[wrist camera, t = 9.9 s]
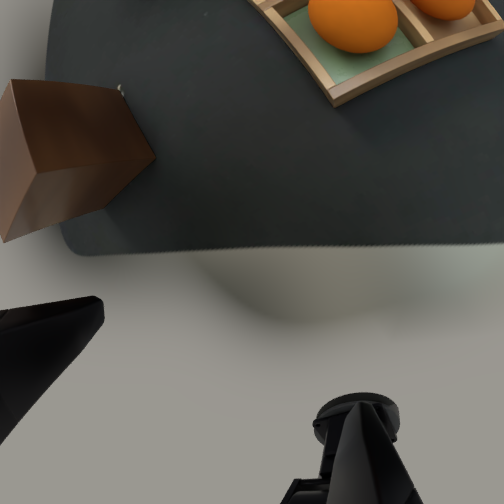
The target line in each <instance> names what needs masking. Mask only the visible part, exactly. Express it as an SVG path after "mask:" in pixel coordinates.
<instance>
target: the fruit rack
mask: <svg viewBox="0 0 504 504" xmlns="http://www.w3.org/2000/svg"><path fill="white" fill-rule="evenodd" d="M247 1H248V2H249V3H250V4H251V5H252V6H253V7H254V8H255V9H256V10H257V11H258V12H259V13H260V14H261V15H262V16H263V18H264V19H265V20H266V21H267V22H268V23H269V24H270V25H271V26H272V28H273V29H274V30H275V31H276V32H277V33H278V34H279V36H280V37H281V38H282V39H283V40H284V42H285V43H286V44H287V45H288V46H289V48H290V49H291V50H292V51H293V53H294V54H295V55H296V56H297V58H298V59H299V60H300V61H301V63H302V64H303V65H304V67H305V68H306V69H307V71H308V72H309V73H310V75H311V76H312V77H313V79H314V80H315V81H316V83H317V84H318V86H319V87H320V88H321V90H322V91H323V93H324V94H325V96H326V97H327V99H328V100H329V102H330V103H331V105H332V106H333V107H334V108H336V107H338V106H340V105H342V104H344V103H345V102H347V101H349V100H351V99H353V98H355V97H357V96H359V95H361V94H363V93H365V92H367V91H369V90H371V89H373V88H375V87H377V86H379V85H381V84H383V83H385V82H387V81H389V80H391V79H393V78H396V77H398V76H400V75H402V74H404V73H406V72H409V71H411V70H413V69H415V68H418V67H420V66H422V65H425V64H427V63H429V62H432V61H434V60H437V59H439V58H441V57H444V56H446V55H449V54H452V53H454V52H457V51H459V50H462V49H465V48H467V47H470V46H473V45H476V44H479V43H482V42H485V41H488V40H491V39H493V38H494V37H496V36H497V35H498V34H500V33H501V32H503V31H504V21H503V20H502V18H501V17H500V16H499V14H498V13H497V12H496V10H495V9H494V8H493V6H492V5H491V4H490V3H489V1H488V0H475V4H474V7H473V9H472V11H471V12H470V14H468V15H467V16H466V17H464V18H462V19H459V20H454V21H448V20H441V19H437V18H434V17H432V16H430V15H428V14H426V13H424V12H422V11H421V10H420V9H418V8H417V7H416V6H415V5H414V4H413V3H412V2H411V1H410V0H392V2H393V4H394V6H395V8H396V11H397V16H398V26H397V30H396V33H395V35H394V37H393V38H392V40H391V41H390V42H389V43H388V44H387V45H385V46H384V47H382V48H381V49H379V50H376V51H373V52H368V53H351V52H347V51H343V50H340V49H338V48H336V47H334V46H332V45H330V44H329V43H328V42H326V41H325V40H324V39H323V38H322V37H321V36H320V35H319V34H318V33H317V32H316V30H315V29H314V27H313V25H312V24H311V21H310V18H309V14H308V4H309V0H247Z"/></svg>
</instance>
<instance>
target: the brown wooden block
mask: <svg viewBox="0 0 504 504" xmlns="http://www.w3.org/2000/svg"><path fill="white" fill-rule="evenodd" d="M155 159H156V157H155V155H154V153H153V152H152V150H151V148H150V146H149V144H148V143H147V141H146V139H145V137H144V135H143V134H142V132H141V130H140V128H139V126H138V124H137V123H136V121H135V119H134V117H133V115H132V113H131V112H130V110H129V108H128V106H127V104H126V102H125V100H124V99H123V97H122V95H121V93H120V91H119V90H115V89H109V88H103V87H97V86H90V85H82V84H74V83H65V82H55V81H41V80H20V79H11V80H10V81H9V83H8V85H7V87H6V89H5V91H4V93H3V96H2V98H1V100H0V235H1V238H2V240H3V243H6V242H8V241H11V240H13V239H16V238H18V237H21V236H23V235H26V234H29V233H31V232H34V231H37V230H40V229H42V228H45V227H48V226H51V225H53V224H57V223H60V222H62V221H65V220H68V219H71V218H74V217H78V216H81V215H84V214H87V213H90V212H93V211H97V210H100V209H103V208H104V207H105V206H106V205H107V204H108V203H109V202H110V201H111V200H112V199H113V198H114V197H115V196H116V195H117V194H118V193H119V192H120V191H121V190H122V189H123V188H124V187H125V186H126V185H127V184H128V183H130V182H131V181H132V180H133V179H134V178H135V177H136V176H137V175H138V174H139V173H140V172H141V171H142V170H143V169H145V168H146V167H147V166H148V165H149V164H150V163H151V162H152V161H153V160H155Z"/></svg>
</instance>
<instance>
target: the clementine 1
mask: <svg viewBox="0 0 504 504" xmlns="http://www.w3.org/2000/svg"><path fill="white" fill-rule="evenodd" d="M308 14H309V18H310V21H311V24H312V25H313V27H314V29H315V30H316V32H317V33H318V34H319V35H320V36H321V37H322V38H323V39H324V40H325V41H326V42H328V43H329V44H330V45H332V46H334V47H336V48H338V49H340V50H343V51H347V52H351V53H368V52H373V51H376V50H379V49H381V48H382V47H384V46H385V45H387V44H388V43H389V42H390V41H391V40H392V38H393V37H394V35H395V33H396V30H397V26H398V16H397V11H396V8H395V6H394V4H393V2H392V0H309V4H308Z"/></svg>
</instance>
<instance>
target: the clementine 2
mask: <svg viewBox="0 0 504 504" xmlns="http://www.w3.org/2000/svg"><path fill="white" fill-rule="evenodd" d="M410 1H411V2H412V3H413V4H414V5H415V6H416V7H417V8H418V9H420V10H421V11H422V12H424V13H426V14H428V15H430V16H432V17H434V18H437V19H441V20H448V21H454V20H459V19H462V18H464V17H466V16H467V15H468V14H470V12H471V11H472V9H473V7H474V4H475V0H410Z"/></svg>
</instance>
